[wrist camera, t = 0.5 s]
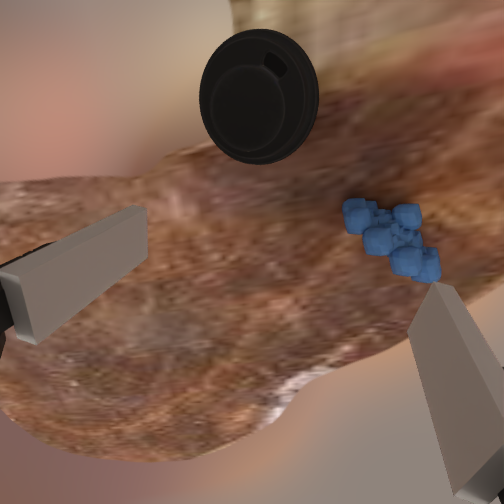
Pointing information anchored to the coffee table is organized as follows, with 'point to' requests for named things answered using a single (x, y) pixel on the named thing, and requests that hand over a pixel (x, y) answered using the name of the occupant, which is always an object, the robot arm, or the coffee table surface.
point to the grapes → (393, 237)
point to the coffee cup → (259, 96)
